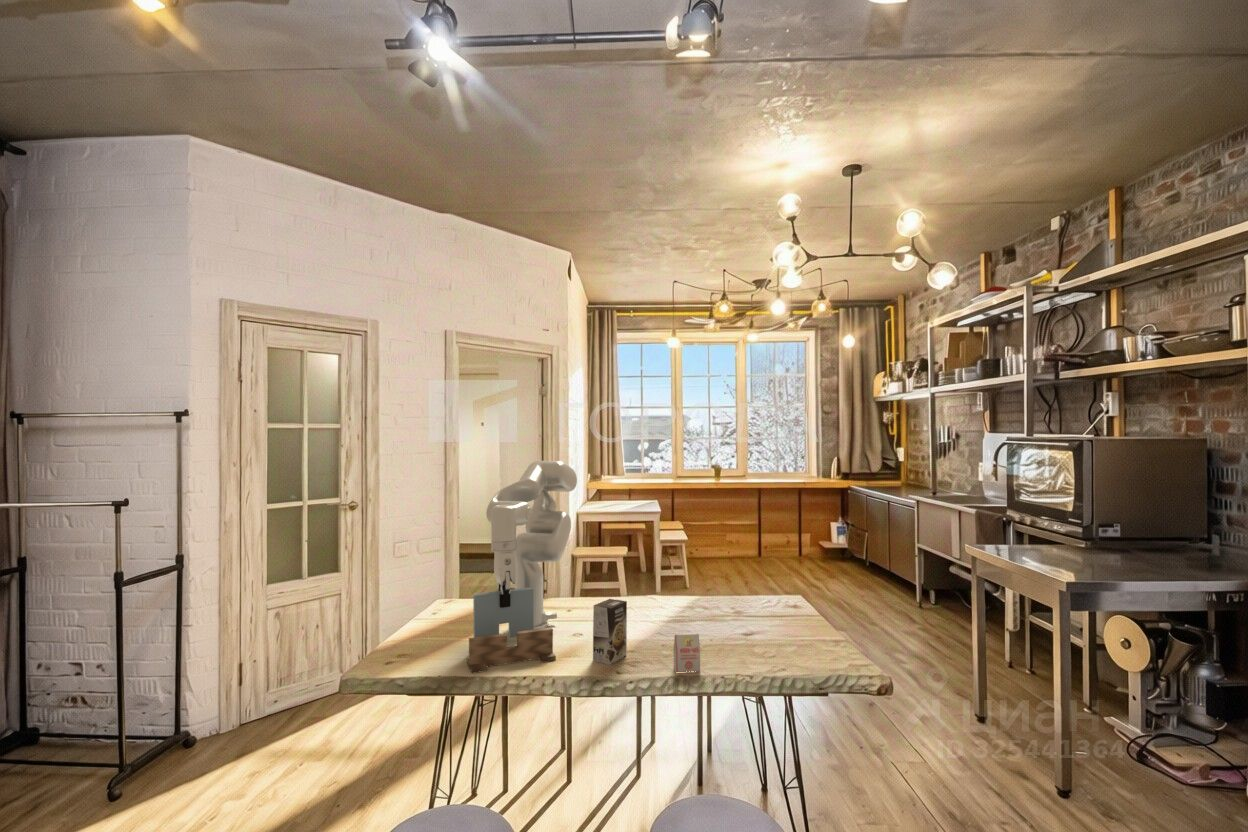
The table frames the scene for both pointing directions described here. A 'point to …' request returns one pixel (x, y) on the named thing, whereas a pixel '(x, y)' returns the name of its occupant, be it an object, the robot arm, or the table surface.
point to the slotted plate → (503, 612)
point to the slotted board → (510, 649)
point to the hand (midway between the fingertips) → (504, 605)
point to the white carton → (686, 653)
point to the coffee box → (609, 631)
